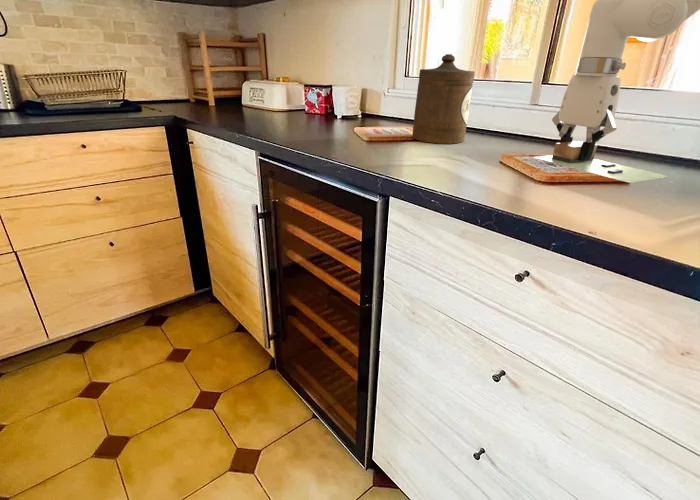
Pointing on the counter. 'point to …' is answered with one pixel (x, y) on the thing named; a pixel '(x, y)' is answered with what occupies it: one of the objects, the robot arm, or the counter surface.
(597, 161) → the board
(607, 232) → the counter surface
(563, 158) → the eraser
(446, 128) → the wooden container
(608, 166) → the ink stroke
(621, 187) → the counter surface
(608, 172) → the ink stroke
